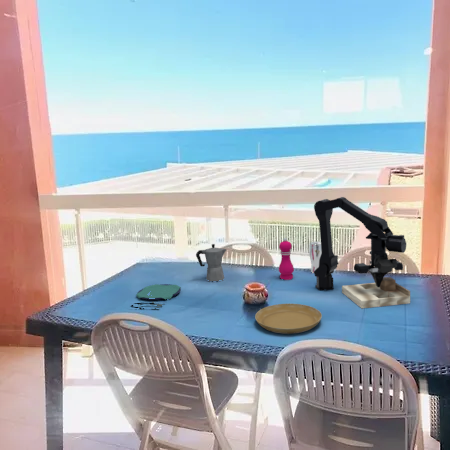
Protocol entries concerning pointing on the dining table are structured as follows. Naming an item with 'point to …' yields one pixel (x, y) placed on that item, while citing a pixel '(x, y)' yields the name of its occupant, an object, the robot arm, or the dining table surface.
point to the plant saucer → (288, 318)
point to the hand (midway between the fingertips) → (378, 287)
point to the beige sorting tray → (376, 295)
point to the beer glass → (314, 254)
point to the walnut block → (388, 284)
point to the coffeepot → (213, 262)
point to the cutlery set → (159, 292)
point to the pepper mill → (285, 260)
